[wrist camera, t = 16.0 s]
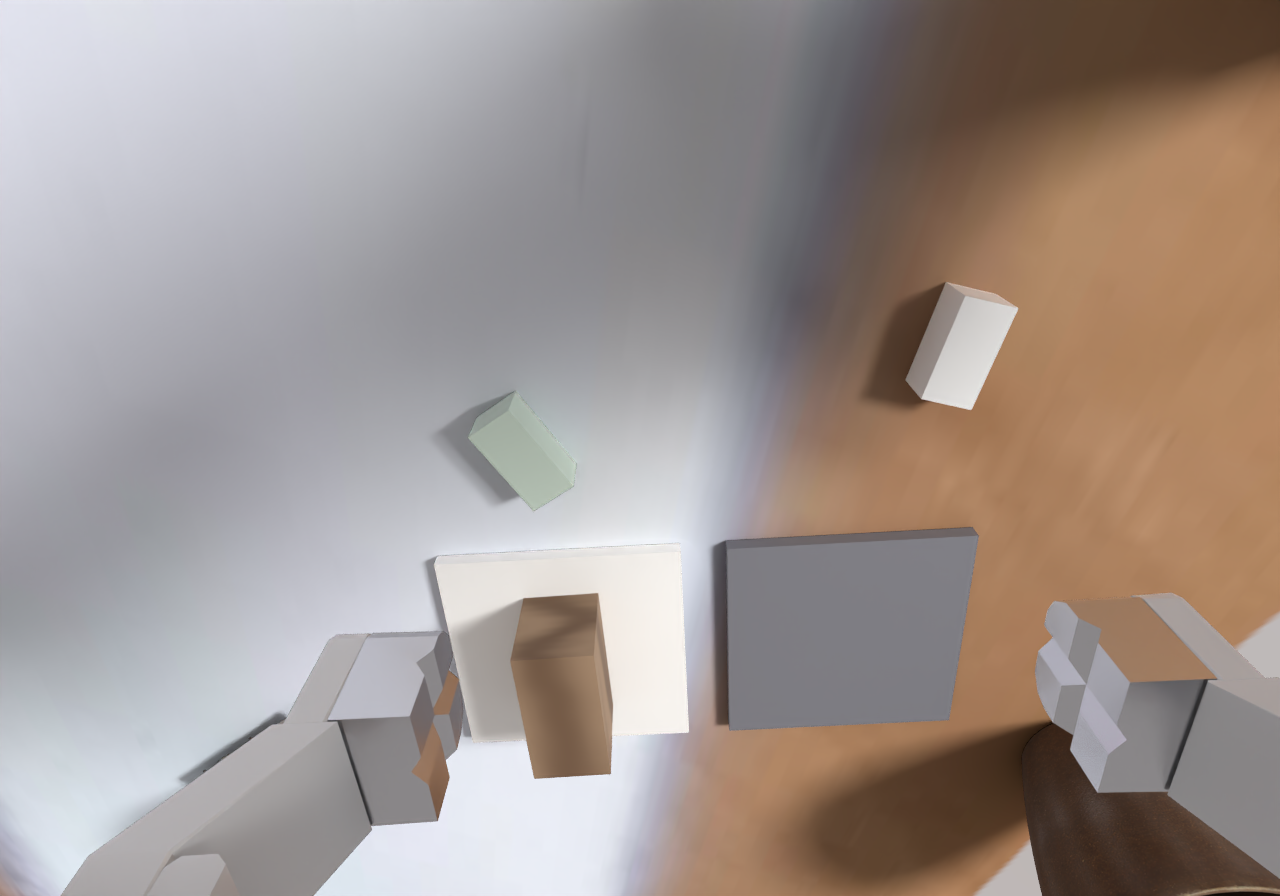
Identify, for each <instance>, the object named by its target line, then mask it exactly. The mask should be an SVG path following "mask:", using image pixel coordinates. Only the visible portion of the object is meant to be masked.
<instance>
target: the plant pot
mask: <svg viewBox="0 0 1280 896" xmlns="http://www.w3.org/2000/svg"><path fill="white" fill-rule="evenodd" d="M1072 739H1073V735H1072V734H1070V733H1069V732H1067V731H1066V730H1064V729H1063V728H1061V727H1059V726H1058V725H1056V724H1055V723H1053V724H1051V725H1049V726H1047V727H1045V728H1044V729H1042V730H1040V731H1039V732H1038V733H1037V734H1035V735H1034V736H1033V737H1032V738H1031V739H1030V740H1029V742H1028V743H1027V745H1026V746H1025V748H1024V751H1023V754H1022V778H1023V789H1024V800H1025V808H1026V815H1027V822H1028V829H1029V835H1030V841H1031V846H1032V851H1033V856H1034V861H1035V865H1036V870H1037V875H1038V880H1039V884H1040V888H1041V892H1042V896H1280V879H1279V878H1278V877H1277V876H1275V875H1274V874H1273V873H1271V872H1270V871H1269V870H1267V869H1266V868H1265V867H1263V866H1262V865H1261V864H1259V863H1258V862H1257V861H1255V860H1254V859H1253V858H1251V857H1250V856H1249V855H1247V854H1246V853H1245V852H1243V851H1242V850H1241V849H1239V848H1238V847H1237V846H1235V845H1234V844H1233V843H1231V842H1230V841H1228V840H1227V839H1226V838H1224V837H1223V836H1222V835H1220V834H1219V833H1218V832H1216V831H1215V830H1214V829H1212V828H1211V827H1210V826H1208V825H1207V824H1206V823H1204V822H1203V821H1202V820H1200V819H1199V818H1198V817H1196V816H1195V815H1194V814H1192V813H1191V812H1190V811H1188V810H1187V809H1186V808H1184V807H1183V806H1182V805H1180V804H1179V803H1178V802H1176V801H1175V800H1174V799H1172V798H1171V797H1170V796H1168V795H1167V794H1168V792H1108V793H1097V791H1096V790H1095V788H1094V787H1093V785H1092V783H1091V782H1090V780H1089V779H1088V777H1087V776H1086V774H1085V772H1084V771H1083V769H1082V768H1081V766H1080V765H1079V763H1078V761H1077V760H1076V758H1075V757H1074V755H1073V754H1072V752H1071V750H1070V748H1071V743H1072Z"/></svg>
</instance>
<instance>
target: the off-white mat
mask: <svg viewBox="0 0 1280 896" xmlns="http://www.w3.org/2000/svg"><path fill="white" fill-rule="evenodd" d="M434 568H435V572H436V577H437V581H438V586H439V591H440V595H441V600H442V604H443V609H444V613H445V618H446V622H447V627H448V631H449V636H450V641H451V645H452V650H453V654H454V659H455V663H456V668H457V672H458V677H459V681H460V686H461V691H462V695H463V700H464V704H465V709H466V713H467V718H468V722H469V727H470V731H471V736H472V740H473V743H480V742H501V741H522V740H526V736H525V731H524V726H523V721H522V717H521V712H520V707H519V702H518V697H517V692H516V687H515V683H514V678H513V673H512V668H511V663H510V659H511V654H512V650H513V645H514V640H515V635H516V631H517V626H518V621H519V616H520V612H521V607H522V602H523V598H534V597H548V596H563V595H577V594H591V593H598V595H599V602H600V610H601V617H602V625H603V632H604V640H605V647H606V655H607V663H608V670H609V678H610V685H611V693H612V700H613V722H612V736H626V735H647V734H668V733H689V725H688V703H687V681H686V659H685V637H684V615H683V593H682V571H681V550H680V543H671V544H652V545H634V546H615V547H597V548H578V549H559V550H541V551H522V552H504V553H485V554H466V555H448V556H437V558H436V561H435V563H434Z"/></svg>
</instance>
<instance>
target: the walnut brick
mask: <svg viewBox="0 0 1280 896" xmlns="http://www.w3.org/2000/svg"><path fill="white" fill-rule="evenodd" d="M510 663H511V668H512V673H513V678H514V683H515V687H516V692H517V697H518V702H519V707H520V712H521V717H522V721H523V726H524V731H525V736H526V741H527V746H528V750H529V755H530V760H531V765H532V770H533V775H534V779H538V778H554V777H570V776H586V775H603V774H611V750H612V722H613V700H612V693H611V685H610V678H609V670H608V663H607V655H606V647H605V640H604V632H603V625H602V617H601V610H600V602H599V595H598V593H591V594H577V595H563V596H548V597H534V598H523V602H522V607H521V612H520V616H519V621H518V626H517V631H516V635H515V640H514V645H513V650H512V654H511V659H510Z"/></svg>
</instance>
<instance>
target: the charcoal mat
mask: <svg viewBox="0 0 1280 896" xmlns="http://www.w3.org/2000/svg"><path fill="white" fill-rule="evenodd" d="M978 537H979V535H978V534H977V533H976V531H975V530H974V529H973V527H968V528H950V529H931V530H913V531H894V532H875V533H857V534H838V535H820V536H801V537H782V538H764V539H745V540H727V541H726V597H727V671H728V723H729V730H730V731H731V730H751V729H772V728H793V727H814V726H835V725H856V724H877V723H898V722H918V721H939V720H949V716H950V710H951V704H952V698H953V692H954V685H955V679H956V673H957V667H958V661H959V655H960V648H961V642H962V636H963V630H964V624H965V617H966V611H967V605H968V599H969V593H970V586H971V580H972V574H973V568H974V562H975V556H976V549H977V543H978Z"/></svg>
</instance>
